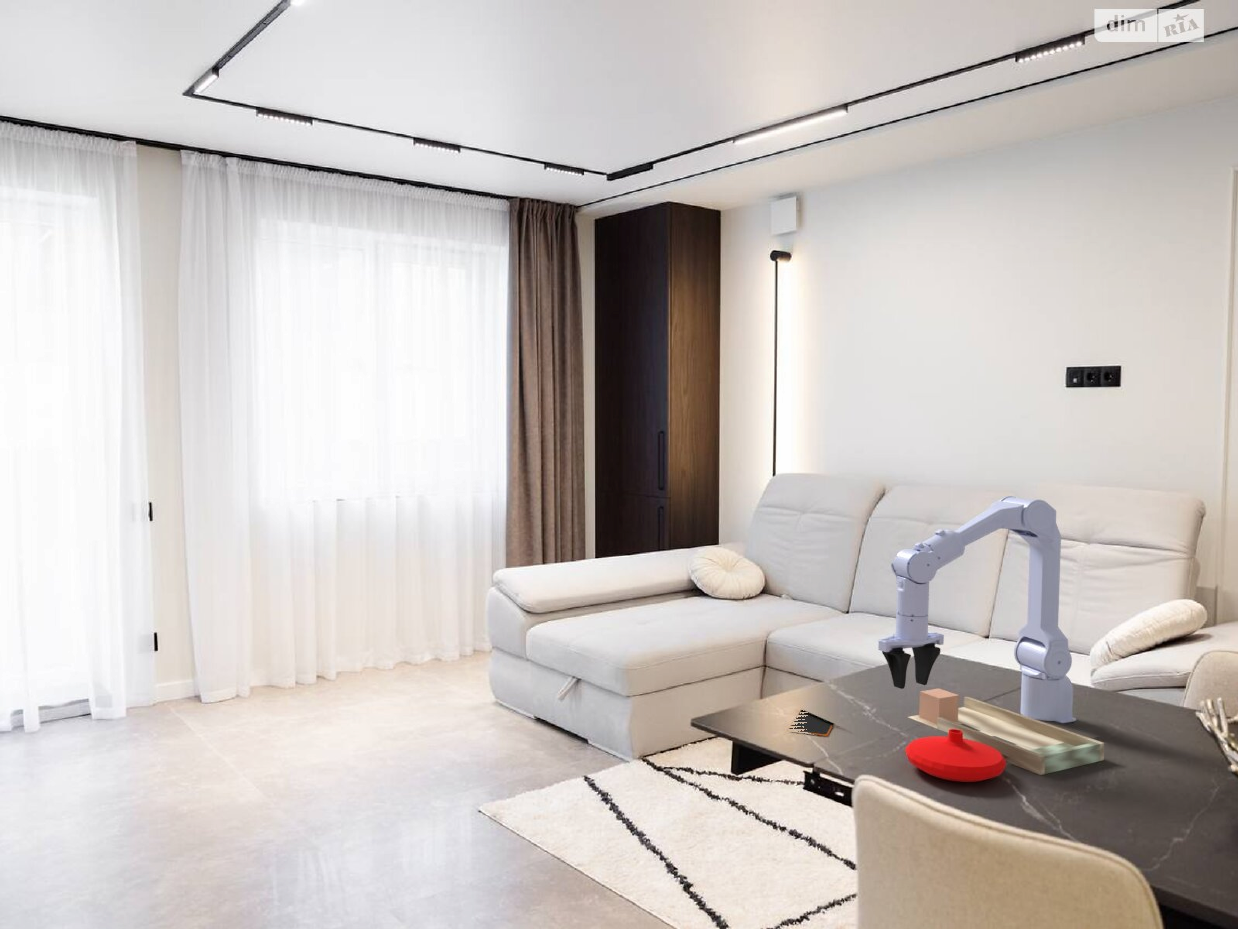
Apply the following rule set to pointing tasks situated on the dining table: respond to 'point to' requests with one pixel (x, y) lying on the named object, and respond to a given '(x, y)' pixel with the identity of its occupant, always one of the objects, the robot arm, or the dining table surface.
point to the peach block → (938, 705)
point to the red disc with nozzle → (955, 757)
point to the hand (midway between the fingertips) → (910, 685)
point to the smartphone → (814, 724)
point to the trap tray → (1022, 738)
